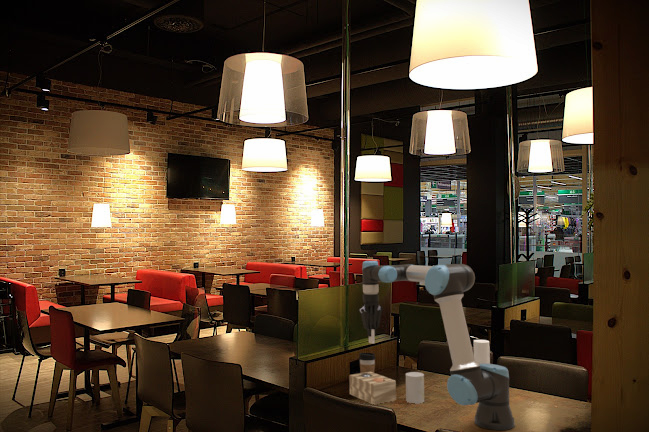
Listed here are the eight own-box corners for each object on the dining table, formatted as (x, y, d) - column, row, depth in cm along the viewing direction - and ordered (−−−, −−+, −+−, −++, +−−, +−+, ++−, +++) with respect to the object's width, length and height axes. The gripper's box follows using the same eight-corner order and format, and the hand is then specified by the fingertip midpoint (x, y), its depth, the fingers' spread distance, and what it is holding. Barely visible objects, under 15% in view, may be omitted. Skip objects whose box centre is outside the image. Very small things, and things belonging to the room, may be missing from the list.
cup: (424, 404, 245) (423, 377, 245) (405, 403, 247) (405, 376, 247) (424, 398, 253) (424, 372, 253) (406, 398, 254) (406, 371, 255)
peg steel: (372, 394, 260) (372, 374, 260) (364, 395, 257) (364, 376, 258) (367, 391, 263) (367, 372, 264) (359, 393, 261) (359, 374, 261)
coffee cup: (356, 382, 282) (355, 352, 283) (370, 380, 286) (370, 350, 286) (364, 386, 275) (363, 355, 275) (379, 384, 278) (378, 354, 279)
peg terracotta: (385, 399, 251) (385, 379, 251) (377, 401, 249) (377, 380, 249) (379, 397, 255) (379, 377, 255) (371, 398, 252) (371, 378, 253)
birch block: (395, 400, 250) (395, 380, 251) (374, 405, 244) (374, 384, 245) (370, 390, 268) (370, 371, 268) (349, 394, 262) (349, 374, 262)
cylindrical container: (478, 392, 262) (477, 339, 263) (493, 394, 258) (491, 340, 259) (472, 395, 257) (470, 341, 258) (486, 398, 252) (485, 343, 253)
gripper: (376, 291, 270) (377, 340, 270) (355, 293, 264) (355, 343, 263) (386, 293, 264) (387, 342, 263) (364, 294, 257) (365, 345, 256)
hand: (371, 343), depth 263 cm, fingers closed
